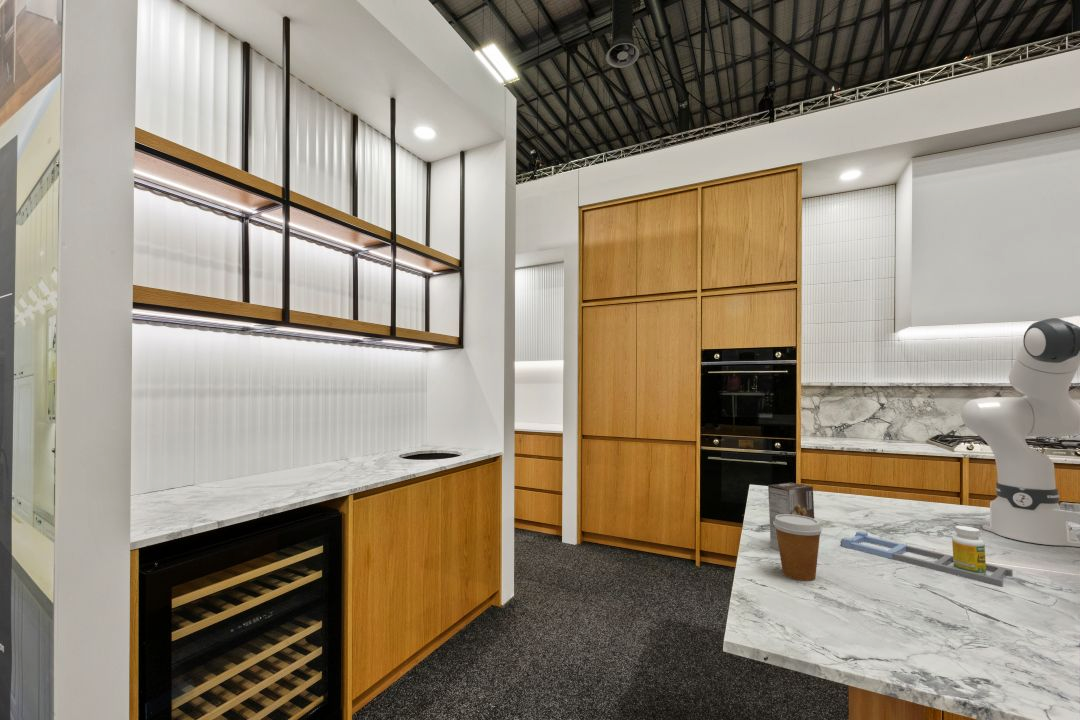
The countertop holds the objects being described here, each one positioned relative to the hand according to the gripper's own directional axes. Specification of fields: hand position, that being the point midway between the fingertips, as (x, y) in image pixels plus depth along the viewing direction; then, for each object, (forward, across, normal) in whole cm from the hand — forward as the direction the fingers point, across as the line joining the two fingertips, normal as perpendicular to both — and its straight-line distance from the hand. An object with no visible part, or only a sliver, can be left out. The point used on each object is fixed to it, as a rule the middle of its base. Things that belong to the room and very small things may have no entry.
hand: (1056, 509), depth 91 cm
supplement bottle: (+14, 0, +17) cm, 22 cm away
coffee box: (+44, +18, +17) cm, 50 cm away
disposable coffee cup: (+35, +34, +17) cm, 51 cm away
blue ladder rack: (+23, 0, +16) cm, 28 cm away
